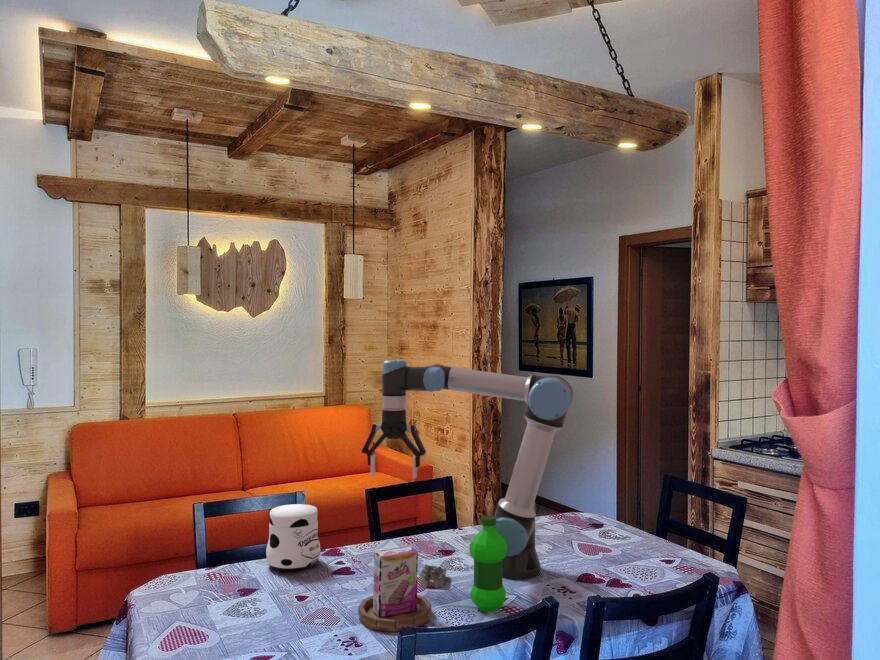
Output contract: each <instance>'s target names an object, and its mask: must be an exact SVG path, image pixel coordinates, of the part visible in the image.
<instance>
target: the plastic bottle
mask: <svg viewBox="0 0 880 660" xmlns="http://www.w3.org/2000/svg"><path fill="white" fill-rule="evenodd" d="M480 525H481V526H482V529H481V530H480V531H479V532H477V534H475V535H474V536H473V537H472V538H471V540H470V543H469V546H468V547H469V553H470V555H469V556H471V557H472V558H473V586H472V588H471V591H470V594H469V595H470V597H469V598H470V600H471V602H472V603H473V604H474V605H475V606H476V607H477V608H478V609H479V610H480V611H481V612H485V613H491V612H493V613H494V612H495V611H497V610H498V609H499V608H500V607H502V605H503V604H504V601H505V599H506V596H507V595H506V594H507V593H506V592H507V591H506V589H505V587H504V585H503V577H502V560H503V559H504V558H505V555H506V552H507V543H506V540H505V539H504V538H503V537H502V536H501V535H500V534H499V533H497V532H496V531H495V530H494V525H496V517H494V515H481V517H480Z"/></svg>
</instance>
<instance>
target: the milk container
mask: <svg viewBox="0 0 880 660" xmlns="http://www.w3.org/2000/svg"><path fill="white" fill-rule="evenodd" d="M268 517H269V518H268V520H269V524H268V531H269V533H268V534H269V535H268V541H267V544H266V550H265V555H266V561H267V563H268V565H269V566H270V567H271V568H273V569H276V570H279V571H298V570H304V569H307V568H311V567H312V566H315V564H317V563H318V562H319V559H320V556H321V543H320V540H319V532H318V531H319V530H318V528H319V512H318V508H317V506H314V505H312V504H302V503H295V504H290V503H289V504H284V505H280V506H279V505H278V506H275V507H273V508H271V510H270V511H269V516H268Z"/></svg>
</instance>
